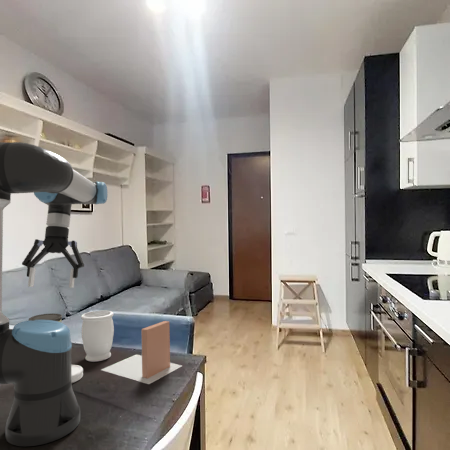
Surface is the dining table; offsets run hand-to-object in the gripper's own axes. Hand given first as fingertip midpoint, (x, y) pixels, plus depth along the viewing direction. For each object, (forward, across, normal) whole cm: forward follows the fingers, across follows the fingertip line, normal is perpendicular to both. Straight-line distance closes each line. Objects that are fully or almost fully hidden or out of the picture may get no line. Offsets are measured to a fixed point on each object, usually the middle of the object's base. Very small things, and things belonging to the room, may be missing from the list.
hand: (51, 287), depth 126 cm
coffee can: (+24, 0, -4) cm, 24 cm away
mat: (+25, -34, +12) cm, 44 cm away
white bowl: (+28, -13, +16) cm, 35 cm away
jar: (+24, -18, -2) cm, 29 cm away
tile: (+24, -39, +15) cm, 49 cm away
